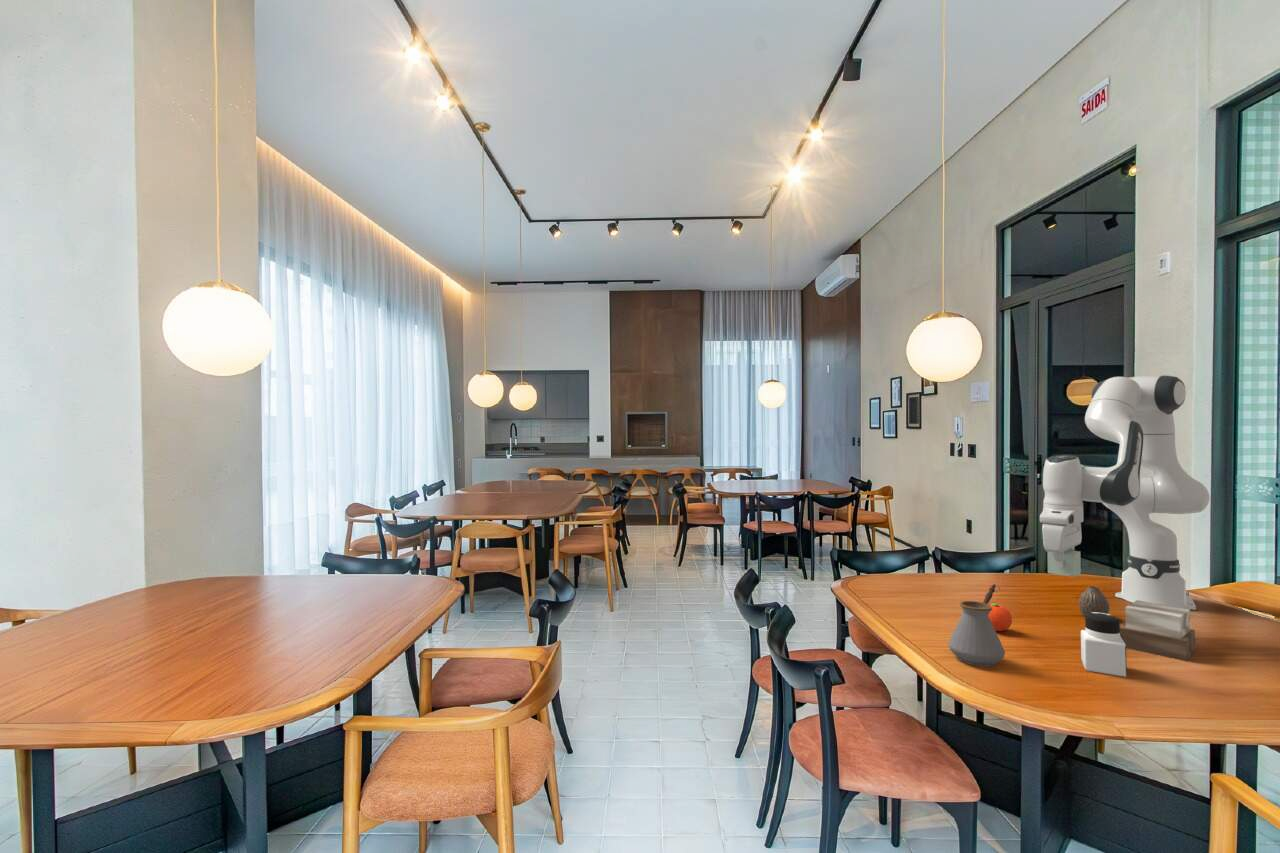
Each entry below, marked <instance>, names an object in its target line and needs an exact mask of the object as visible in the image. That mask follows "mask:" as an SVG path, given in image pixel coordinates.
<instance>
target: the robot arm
mask: <svg viewBox="0 0 1280 853" xmlns="http://www.w3.org/2000/svg"><path fill="white" fill-rule="evenodd" d="M1092 388H1093V389H1092V392H1091V401H1090V402H1089V405H1088V406H1087V409H1086V411H1085V415H1084V424H1085V425H1086V427H1087V429H1088V430H1089V431H1090V432H1091V433H1093V434H1094V435H1095V436H1097V437H1099V438H1100V439H1103V440H1106V441H1109V442H1113V443H1116V444H1119V448H1118V453H1117V462H1116V464H1115V465H1112V466H1108V467H1101V466H1100V467H1099V466H1097V467H1095V466H1086V465H1083V464H1081V461H1080V459H1079V457H1078V456H1076V455H1074V454H1059V455H1052V456H1049V457H1047V458H1046V459H1045V462H1044V465H1043V472H1042V488H1043V491H1044V497H1043V505H1042V506H1043V507H1042V512H1040V515H1039V522H1040V523H1041V524H1042V526H1041V532H1042V540H1043V541H1042V542H1043V544H1042V545H1043V547H1044V550H1045V552H1053V556H1054V559H1055V566H1057V567H1063V566H1065V564H1064V563H1065V560H1064V559H1063V555H1064V551H1066V550H1073V551H1075V547H1076V546H1078V545H1081V543H1082V538H1083V536H1082V524H1081V523H1083V522H1084V503H1083V501H1085V502H1092V503H1093V502H1094V503H1101V504H1102V505H1103V506H1105V507H1106V508H1107V509H1109V510H1110V511H1112V512H1113V513H1115V515H1116V516H1118V518H1120V520H1121V521H1122V522H1123V524H1124V526H1125V528H1126V531H1127V535H1128V536H1127V537H1128V544H1129V545H1128V546H1129V553H1128V555H1127V565H1128V568H1127V569H1125V570H1124V571H1122V574H1121V591H1119V592H1116V593H1115V597H1116V598H1120V599H1123V600H1125V601H1126V602H1129V603H1131V604H1132V603H1133V602H1135V601H1137V600H1138V601H1144V602H1150V603H1155V604H1161V605H1167V606H1172V607H1178V608H1184V609H1190V610H1192V611H1193V610H1197V606H1196V604H1195V602H1194V600H1193V597H1192V596H1190V592H1189V591H1187V587H1186V586H1187V583H1186V580H1185V579H1184V577H1182V575H1181V573H1180V571H1181V563H1180V560H1179V559H1178V540H1177V535H1176V534H1175V532H1174V531H1173V530H1171V528H1169V527H1166V526H1165V525H1162V524H1160V523H1158V522H1155V521H1154V520H1152V519H1151V517H1150V514H1153V513H1154V514H1171V515H1172V514H1173V515H1184V514H1186V515H1187V514H1196V513H1201V512H1203V511H1205V509H1206V508H1207V507H1208V506H1209V503H1210V494H1209V490H1208V489H1207V487H1206V486H1205V485H1204V484H1203V483H1201V482H1200V481H1199V480H1197V479H1195V478H1193V477H1192V476H1191V475H1189V474H1188V473H1187V471H1185V469H1184V468H1183V467H1182V465H1181V464H1180V462H1179V460H1178V455H1177V449H1176V448H1177V446H1176V428H1175V419H1174V414H1173V413H1174V411H1177V410H1178V409H1179V408H1180V407H1181V406H1182V405H1183V404H1184V402H1185V399H1186V394H1187V393H1186V392H1187V391H1186V385H1185V383H1184V382H1183V381H1182V380H1181V379H1180V378H1179V377H1178V376H1173V375H1163V374H1162V375H1161V376H1159V375H1158V376H1157V375H1137V376H1131V377H1130V376H1129V377H1126V376H1113V377H1110V378H1107V379H1105V380H1102V381H1099V382H1097V383H1096V384H1095V385H1094V386H1093V387H1092ZM1141 467H1143V468H1147V469H1150V470H1151V471H1152V472H1153V477H1141V476H1140V475H1141Z"/></svg>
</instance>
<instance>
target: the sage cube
mask: <svg viewBox="0 0 1280 853" xmlns="http://www.w3.org/2000/svg"><path fill="white" fill-rule="evenodd" d="M1046 552H1047V551H1046ZM1063 559H1064V560H1065V563H1064V564H1065V566H1063V567H1057V566H1055V559H1054V556H1053V552H1047V573H1048V574H1052V575H1053V574H1054V575H1059V576H1064V577H1065V576H1066V577H1072V578H1074V577H1077V576H1078V575H1080V574H1081V573H1082V570H1081V569H1082V568H1081V567H1082V563H1081V550H1074V551H1073V550H1066V551H1064V555H1063Z"/></svg>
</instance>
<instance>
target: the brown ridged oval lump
mask: <svg viewBox="0 0 1280 853" xmlns="http://www.w3.org/2000/svg"><path fill="white" fill-rule="evenodd" d="M1078 609H1079V611H1080V612H1081V613H1082V615H1083V616H1084V617H1085V615H1086V614H1088V613H1092V612H1097V613H1105V614H1110V603H1109V600H1108V598H1107V597H1106V595H1105V594H1103V592H1101V589H1100V587H1097V586H1093V585H1089V586H1087V588H1086V589H1085V590H1084V591H1083V592H1082V593H1081V595H1079V598H1078Z"/></svg>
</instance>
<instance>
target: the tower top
mask: <svg viewBox="0 0 1280 853" xmlns="http://www.w3.org/2000/svg"><path fill="white" fill-rule="evenodd" d="M1124 609H1125V610H1124V611H1125V612H1124V613H1125V615H1124V616H1125V623H1126V628H1131V629H1135V630H1140V631H1145V632H1150V633H1155V634H1159V635H1164V636H1169V637H1174V638H1179V639H1181V638H1182V637H1183V636H1184V635H1186V634H1187V633H1188V632H1189V631H1190V630H1191V629H1192V628H1191V609H1184V608H1178V607H1172V606H1167V605H1161V604H1155V603H1150V602H1144V601H1138V600H1137V601H1135V602H1133V603H1132V602H1131V603H1130V604H1128V605H1127V606H1125V608H1124Z"/></svg>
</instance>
